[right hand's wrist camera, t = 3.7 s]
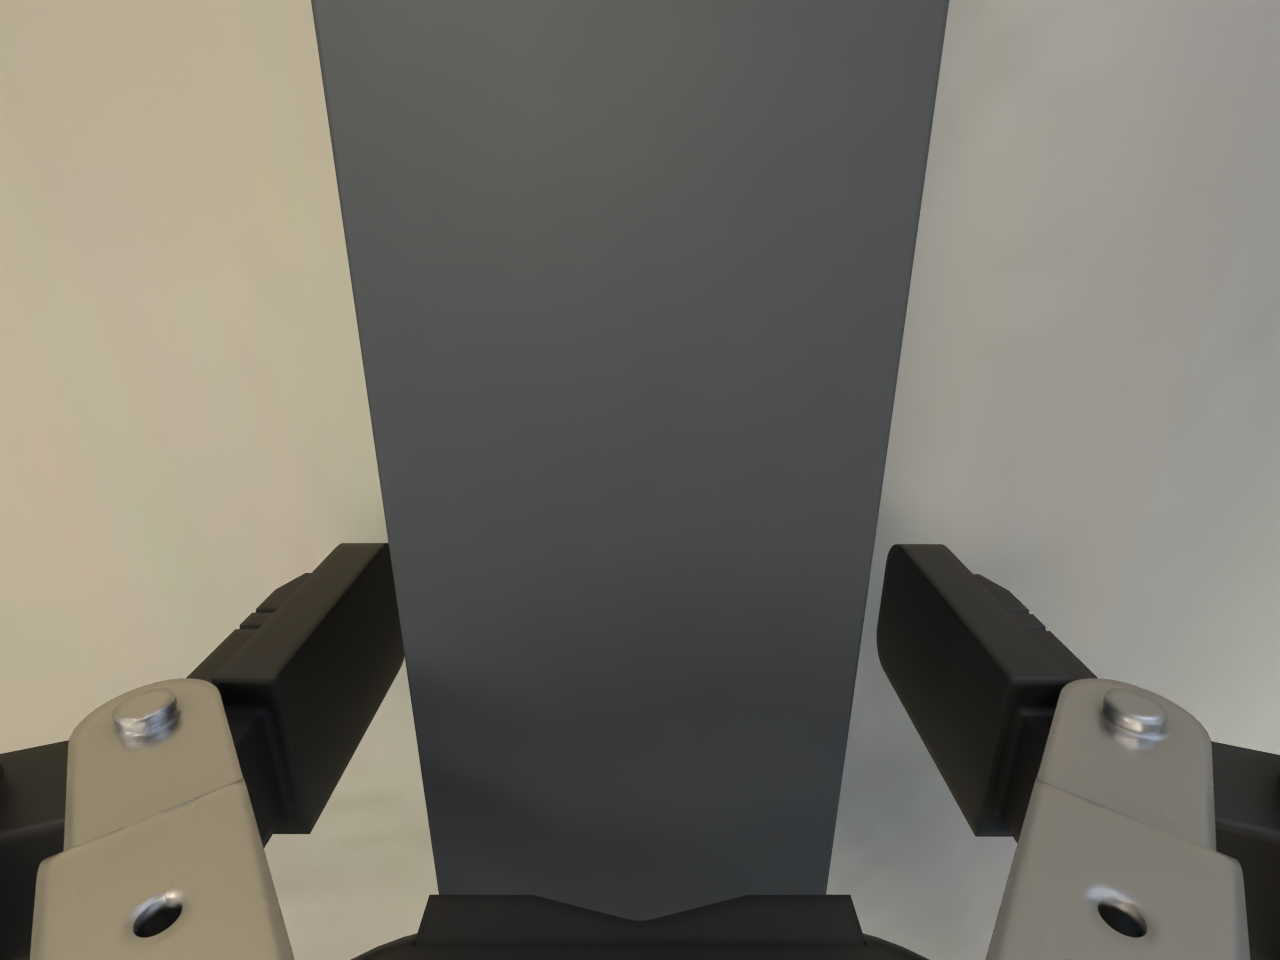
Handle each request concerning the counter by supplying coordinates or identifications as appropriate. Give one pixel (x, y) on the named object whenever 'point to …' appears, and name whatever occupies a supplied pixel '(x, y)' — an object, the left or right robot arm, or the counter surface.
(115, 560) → the counter surface
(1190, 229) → the counter surface
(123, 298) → the counter surface
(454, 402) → the bar
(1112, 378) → the counter surface
